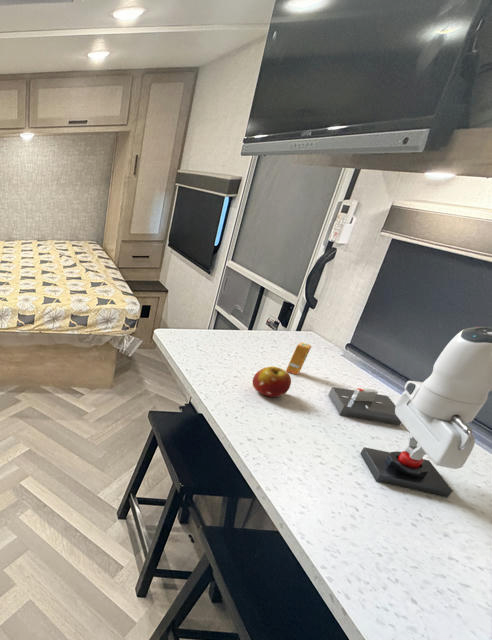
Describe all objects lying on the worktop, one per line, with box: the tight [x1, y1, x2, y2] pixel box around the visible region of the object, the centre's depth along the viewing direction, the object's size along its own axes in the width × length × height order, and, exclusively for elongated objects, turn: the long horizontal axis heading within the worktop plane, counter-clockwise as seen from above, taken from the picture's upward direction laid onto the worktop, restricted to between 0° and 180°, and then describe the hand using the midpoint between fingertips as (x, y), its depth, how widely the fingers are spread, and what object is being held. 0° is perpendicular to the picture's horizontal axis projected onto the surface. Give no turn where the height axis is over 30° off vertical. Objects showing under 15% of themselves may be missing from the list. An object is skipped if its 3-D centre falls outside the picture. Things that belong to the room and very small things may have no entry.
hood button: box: [398, 450, 424, 468], centre depth 88 cm, size 4×4×2 cm
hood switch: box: [359, 446, 453, 499], centre depth 89 cm, size 12×10×4 cm
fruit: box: [252, 366, 292, 398], centre depth 118 cm, size 10×9×8 cm
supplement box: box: [285, 342, 312, 376], centre depth 129 cm, size 3×3×10 cm
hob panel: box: [327, 386, 403, 427], centre depth 111 cm, size 13×11×3 cm
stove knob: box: [351, 387, 379, 402], centre depth 110 cm, size 5×1×3 cm, turn 84°
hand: (411, 455), depth 87 cm, fingers closed
